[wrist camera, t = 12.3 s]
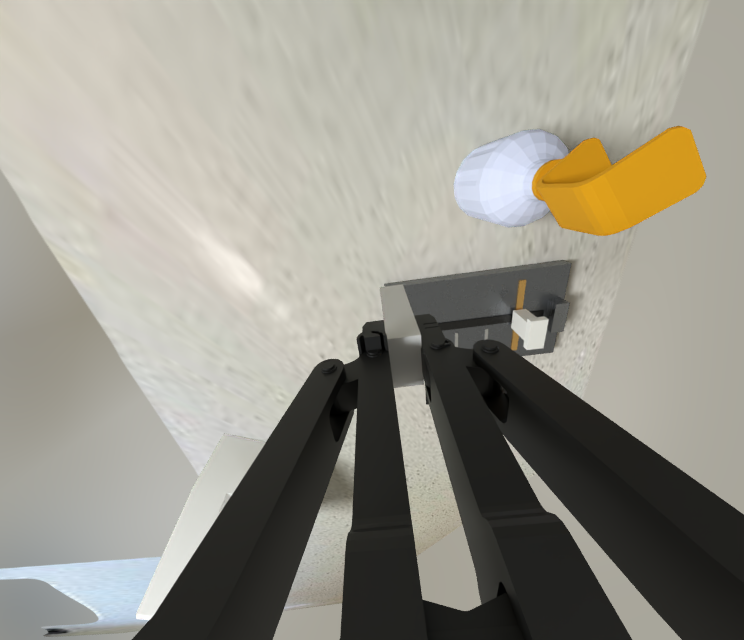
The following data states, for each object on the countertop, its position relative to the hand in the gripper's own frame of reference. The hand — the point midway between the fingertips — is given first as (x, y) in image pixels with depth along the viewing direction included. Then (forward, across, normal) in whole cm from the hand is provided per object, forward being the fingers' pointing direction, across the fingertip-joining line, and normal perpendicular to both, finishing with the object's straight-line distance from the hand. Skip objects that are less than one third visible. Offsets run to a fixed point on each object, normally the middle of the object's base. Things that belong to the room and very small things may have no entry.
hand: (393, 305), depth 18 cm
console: (+24, +14, -15) cm, 32 cm away
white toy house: (+25, -36, -48) cm, 65 cm away
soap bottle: (+25, +15, +6) cm, 30 cm away
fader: (+22, +21, -15) cm, 34 cm away
